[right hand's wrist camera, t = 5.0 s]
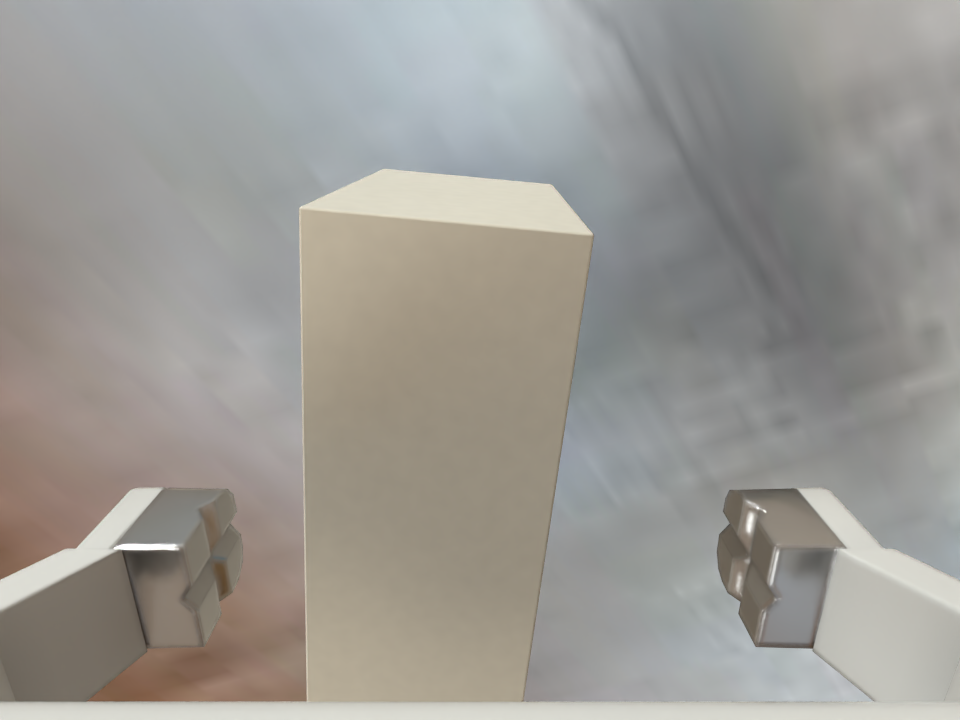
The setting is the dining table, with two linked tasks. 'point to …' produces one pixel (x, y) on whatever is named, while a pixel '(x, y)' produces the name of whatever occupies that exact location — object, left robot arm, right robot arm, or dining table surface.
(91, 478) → the dining table surface
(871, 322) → the dining table surface
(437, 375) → the bar
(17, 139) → the dining table surface
